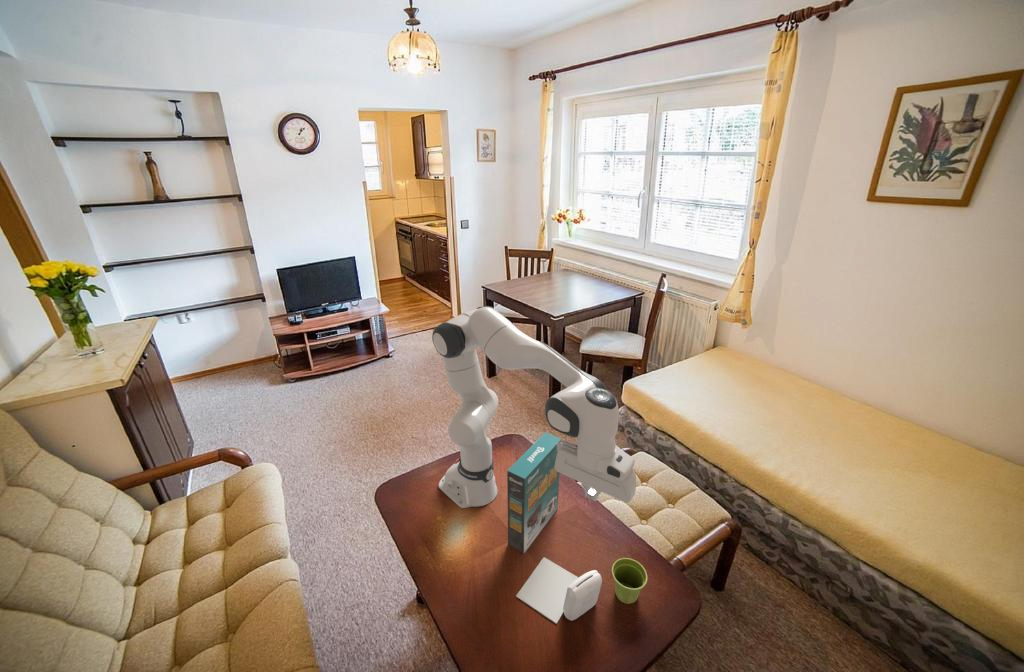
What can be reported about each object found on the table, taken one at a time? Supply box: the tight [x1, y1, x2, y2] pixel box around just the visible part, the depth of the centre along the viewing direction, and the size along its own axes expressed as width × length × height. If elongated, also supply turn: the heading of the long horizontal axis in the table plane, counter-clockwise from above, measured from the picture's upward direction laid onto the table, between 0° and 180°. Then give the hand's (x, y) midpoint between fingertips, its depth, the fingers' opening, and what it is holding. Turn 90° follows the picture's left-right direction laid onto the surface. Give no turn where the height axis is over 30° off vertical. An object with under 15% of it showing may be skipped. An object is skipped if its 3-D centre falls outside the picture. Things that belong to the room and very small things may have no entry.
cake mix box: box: [506, 431, 562, 555], centre depth 133 cm, size 22×6×30 cm, turn 146°
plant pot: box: [611, 557, 648, 605], centre depth 116 cm, size 9×9×9 cm
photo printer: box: [563, 569, 603, 622], centre depth 111 cm, size 10×4×12 cm, turn 123°
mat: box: [515, 557, 579, 625], centre depth 119 cm, size 13×15×1 cm
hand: (591, 497), depth 105 cm, fingers closed
